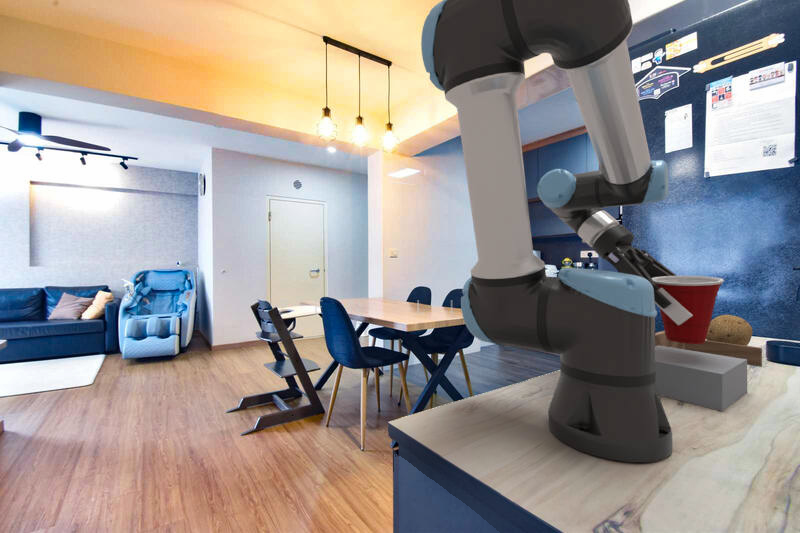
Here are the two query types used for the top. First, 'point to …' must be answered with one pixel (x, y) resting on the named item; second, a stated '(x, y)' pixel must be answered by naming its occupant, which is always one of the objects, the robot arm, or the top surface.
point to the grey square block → (700, 377)
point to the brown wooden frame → (715, 348)
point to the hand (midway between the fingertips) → (695, 317)
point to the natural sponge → (729, 330)
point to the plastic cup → (690, 306)
